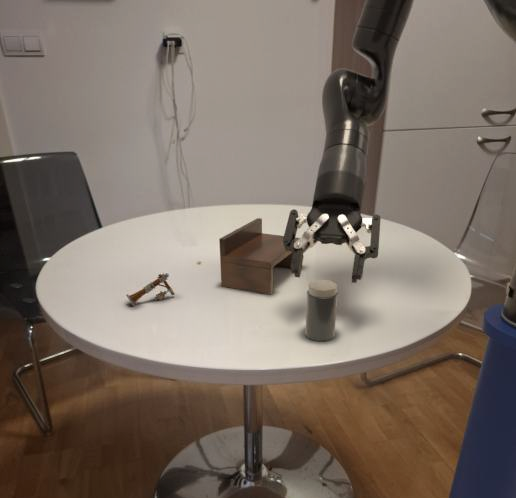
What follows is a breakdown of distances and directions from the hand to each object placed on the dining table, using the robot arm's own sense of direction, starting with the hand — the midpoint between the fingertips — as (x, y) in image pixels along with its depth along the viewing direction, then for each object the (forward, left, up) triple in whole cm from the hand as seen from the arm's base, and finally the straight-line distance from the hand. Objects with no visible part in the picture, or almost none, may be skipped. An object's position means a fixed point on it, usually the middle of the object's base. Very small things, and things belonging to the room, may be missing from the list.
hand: (325, 278), depth 73 cm
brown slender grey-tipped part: (+30, +3, -8) cm, 32 cm away
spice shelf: (+17, -16, -8) cm, 25 cm away
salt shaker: (-1, +3, -8) cm, 8 cm away
